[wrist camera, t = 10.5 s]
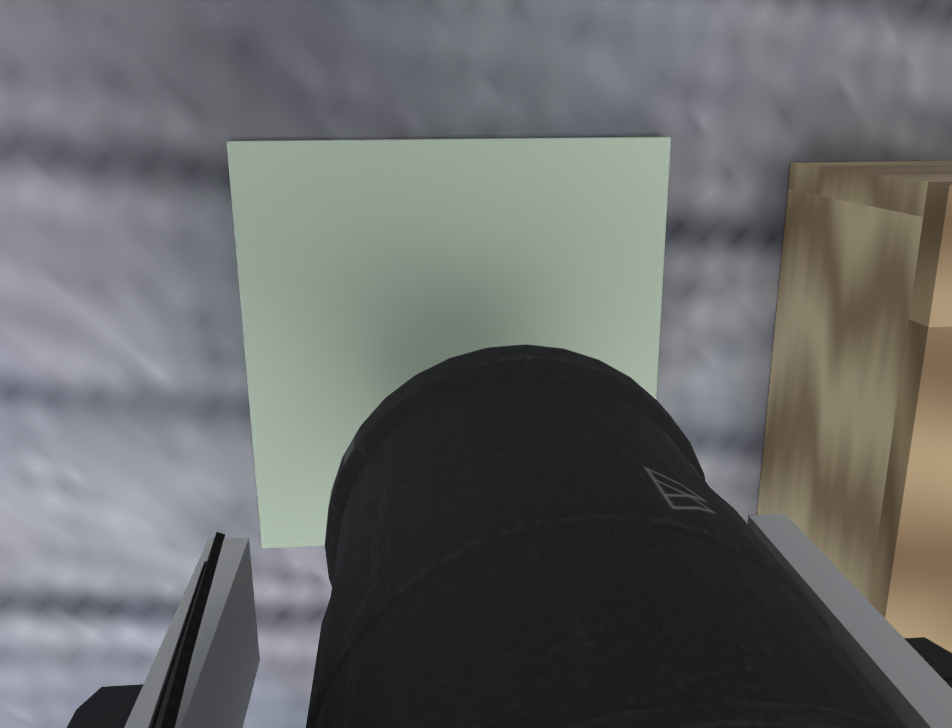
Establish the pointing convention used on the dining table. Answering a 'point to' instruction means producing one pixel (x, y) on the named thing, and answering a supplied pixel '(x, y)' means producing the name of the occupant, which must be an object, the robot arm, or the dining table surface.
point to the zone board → (427, 279)
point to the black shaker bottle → (549, 570)
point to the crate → (868, 382)
